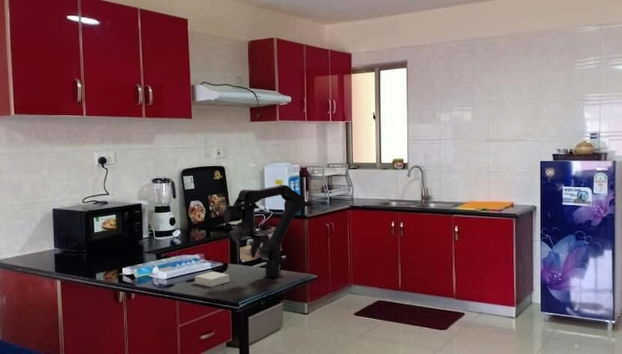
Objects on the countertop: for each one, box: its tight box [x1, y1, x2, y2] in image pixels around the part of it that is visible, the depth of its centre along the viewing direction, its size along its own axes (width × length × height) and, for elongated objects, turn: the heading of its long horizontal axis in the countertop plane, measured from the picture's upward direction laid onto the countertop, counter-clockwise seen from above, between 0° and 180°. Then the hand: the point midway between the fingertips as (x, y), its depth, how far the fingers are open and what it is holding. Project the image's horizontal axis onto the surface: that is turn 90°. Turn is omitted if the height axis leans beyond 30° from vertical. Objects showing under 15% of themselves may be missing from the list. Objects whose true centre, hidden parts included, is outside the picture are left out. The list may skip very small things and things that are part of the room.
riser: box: [194, 271, 230, 288], centre depth 243 cm, size 10×10×3 cm
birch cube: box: [239, 245, 258, 262], centre depth 243 cm, size 5×5×5 cm
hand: (248, 256), depth 243 cm, fingers closed on birch cube, 5 cm apart
